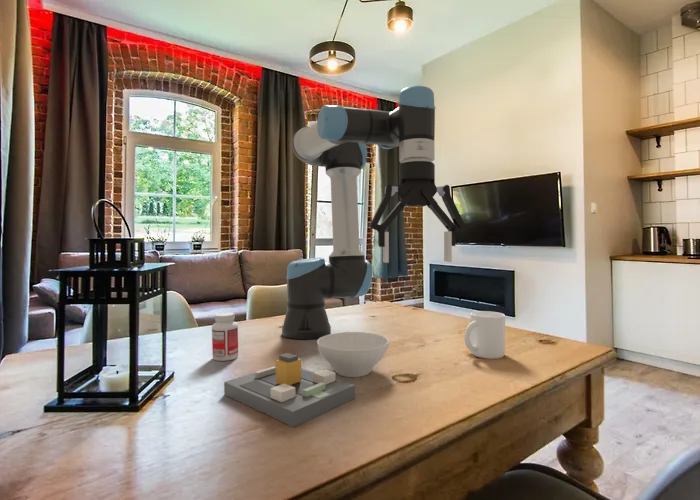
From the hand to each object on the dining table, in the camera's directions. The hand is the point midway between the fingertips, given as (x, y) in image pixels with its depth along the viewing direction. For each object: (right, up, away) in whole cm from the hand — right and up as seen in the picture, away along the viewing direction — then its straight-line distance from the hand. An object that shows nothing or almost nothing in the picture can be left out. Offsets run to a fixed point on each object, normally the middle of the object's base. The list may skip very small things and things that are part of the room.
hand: (417, 262), depth 86 cm
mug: (+19, -24, +14) cm, 34 cm away
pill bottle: (-46, -25, +14) cm, 54 cm away
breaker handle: (-26, -22, -11) cm, 36 cm away
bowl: (-14, -25, +3) cm, 28 cm away
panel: (-26, -25, -11) cm, 38 cm away
